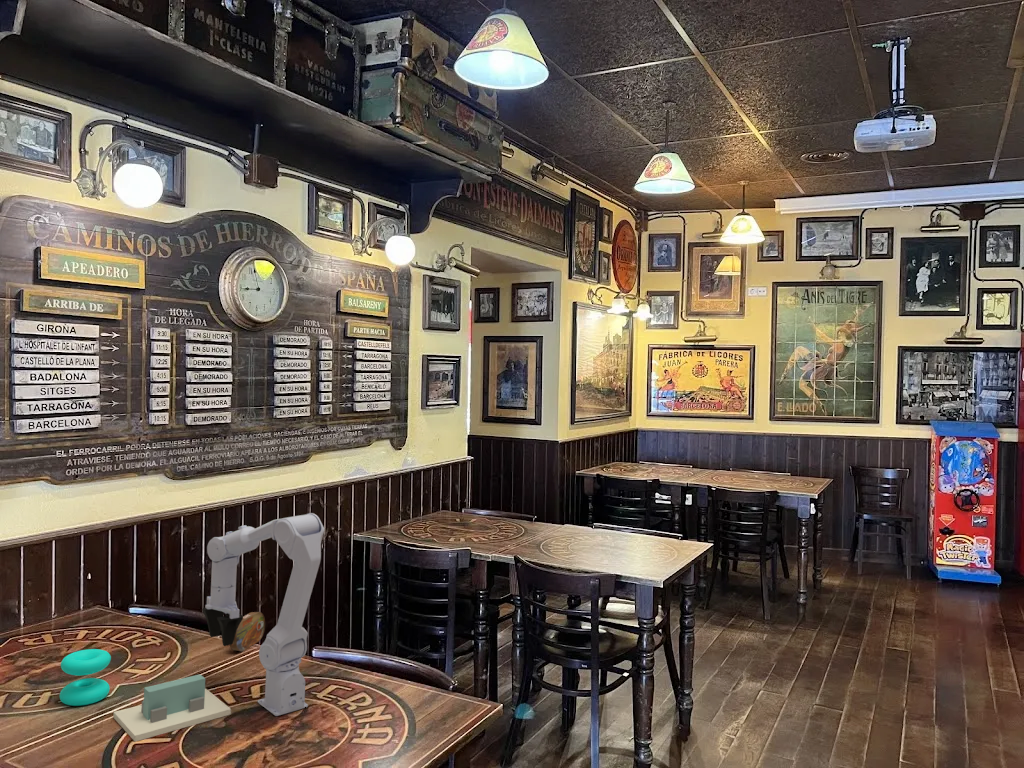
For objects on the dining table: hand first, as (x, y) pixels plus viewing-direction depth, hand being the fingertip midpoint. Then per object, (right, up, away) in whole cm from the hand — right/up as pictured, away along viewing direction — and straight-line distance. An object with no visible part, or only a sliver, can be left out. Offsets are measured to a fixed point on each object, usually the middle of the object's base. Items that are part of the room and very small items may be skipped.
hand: (221, 640), depth 183 cm
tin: (-3, -11, +25) cm, 28 cm away
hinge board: (-4, -10, -18) cm, 21 cm away
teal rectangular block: (-3, -9, -18) cm, 21 cm away
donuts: (-27, -10, -12) cm, 31 cm away
